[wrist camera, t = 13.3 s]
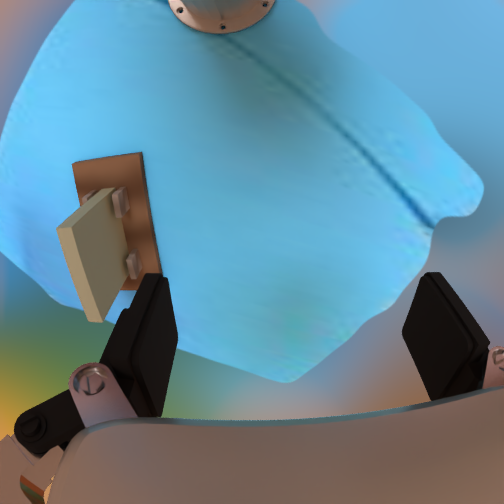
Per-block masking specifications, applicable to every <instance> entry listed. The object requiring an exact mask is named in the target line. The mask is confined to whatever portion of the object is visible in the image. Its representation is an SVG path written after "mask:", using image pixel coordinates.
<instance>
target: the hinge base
mask: <svg viewBox="0 0 504 504" xmlns="http://www.w3.org/2000/svg"><path fill="white" fill-rule="evenodd" d="M72 168H73V173H74V179H75V184H76V188H77V193H78V198H79V202H80V207H81V206H82V205H83V204H84V203H86V202H87V201H88V200H89V199H90V198H92V197H93V196H94V195H95V194H97V193H98V192H99V191H100V190H101V189H106V188H115V189H116V191H115V192H114V193H113V194H112V200H113V205H114V210H115V214H116V218H120V217H121V219H122V224H123V229H124V233H125V238H126V242H127V247H128V251H129V256H128V258H127V259H126V262H127V266H128V270H129V275H128V276H127V278H126V280H125V282H124V284H123V285H122V287H121V289H120V290H138V288H139V285H140V283H141V281H142V279H143V277H144V275H145V273H161V274H162V269H161V264H160V259H159V254H158V249H157V244H156V238H155V233H154V228H153V222H152V216H151V210H150V204H149V198H148V191H147V185H146V178H145V171H144V164H143V156H142V152H138V153H130V154H122V155H115V156H109V157H102V158H96V159H90V160H84V161H78V162H75V163H73V164H72ZM162 275H163V274H162Z"/></svg>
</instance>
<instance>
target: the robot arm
mask: <svg viewBox="0 0 504 504" xmlns="http://www.w3.org/2000/svg"><path fill="white" fill-rule="evenodd" d="M274 2H275V0H168V3H169V5H170V8H171V10H172V11H173V13H174V14H175V16H176V17H177V18H178V19H179V20H180V21H182V22H183V23H184V24H186V25H187V26H189V27H191V28H193V29H195V30H197V31H201V32H204V33H210V34H228V33H234V32H238V31H241V30H244V29H247V28H249V27H250V26H252V25H254V24H256V23H257V22H259V21H260V20H261V19H262V18H264V17H265V15H266V14H267V13H268V12H269V11H270V9H271V8H272V6H273V4H274ZM263 4H266V5H267V7H264V6H263ZM181 10H183V13H180V11H181ZM222 26H225V27H226V28H225V29H224V30H223V29H221V27H222ZM402 336H403V339H404V341H405V343H406V345H407V347H408V349H409V352H410V354H411V356H412V358H413V360H414V362H415V365H416V367H417V369H418V372H419V374H420V376H421V379H422V381H423V383H424V385H425V388H426V390H427V392H428V395H429V397H430V400H431V401H429V402H425V403H420V404H415V405H409V406H404V407H398V408H392V409H387V410H380V411H374V412H367V413H358V414H350V415H341V416H331V417H319V418H306V419H289V420H252V421H251V420H240V421H239V420H201V419H182V418H158V417H161V416H162V412H163V407H164V402H165V397H166V393H167V388H168V383H169V378H170V373H171V369H172V365H173V360H174V356H175V351H176V347H177V342H178V332H177V327H176V322H175V316H174V311H173V305H172V300H171V294H170V288H169V282H168V278H167V277H163V275H162V274H161V273H145V275H144V277H143V279H142V281H141V283H140V285H139V288H138V290H137V292H136V294H135V296H134V299H133V301H132V303H131V305H130V307H129V309H126V308H125V309H123V310H122V312H121V314H120V316H119V318H118V320H117V322H116V325H115V327H114V329H113V332H112V334H111V336H110V338H109V340H108V343H107V345H106V347H105V350H104V352H103V354H102V357H101V359H100V362H99V363H96V362H95V363H87V364H83V365H81V366H80V367H78V368H77V369H76V370H75V371H74V372H73V373H72V374H71V376H70V378H69V383H68V385H69V389H68V390H66V391H64V392H62V393H60V394H58V395H56V396H54V397H53V398H51V399H49V400H47V401H45V402H43V403H41V404H39V405H37V406H35V407H33V408H31V409H29V410H27V411H25V412H24V413H22V414H21V415H20V416H19V417H18V419H17V421H16V423H15V426H14V434H13V435H12V436H11V437H10V436H9V435H6V437H4V438H3V439H2V440H1V441H0V504H45V502H44V498H43V497H44V491H45V489H46V488H47V487H48V486H49V485H50V484H51V483H52V486H51V489H50V493H49V497H48V501H47V504H504V347H501V346H496V347H493V348H492V349H491V350H490V351H489V349H488V345H489V344H490V341H489V340H488V338H487V336H486V335H485V334H484V332H483V330H482V329H481V327H480V326H479V324H478V323H477V322H476V320H475V319H474V317H473V316H472V314H471V313H470V312H469V310H468V309H467V307H466V306H465V305H464V303H463V302H462V300H461V299H460V298H459V296H458V295H457V294H456V292H455V291H454V290H453V288H452V287H451V286H450V284H449V283H448V282H447V281H446V279H445V278H444V277H443V276H442V274H441V273H440V272H427V273H425V274H424V276H422V277H421V278H420V281H419V284H418V287H417V290H416V293H415V296H414V299H413V302H412V304H411V307H410V310H409V313H408V315H407V318H406V321H405V323H404V326H403V329H402ZM54 475H55V476H54ZM53 476H54V479H53V481H52V480H51V478H52V477H53Z"/></svg>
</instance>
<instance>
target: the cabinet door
mask: <svg viewBox="0 0 504 504" xmlns="http://www.w3.org/2000/svg"><path fill="white" fill-rule="evenodd" d="M115 191H116V189H115V188H106V189H101V190H100V191H99V192H98V193H97V194H95V195H94V196H93V197H92V198H90V199H89V200H88V201H87V202H86V203H84V204H83V205H82V206H81V207H80V208H79V209H77V210H76V211H75V212H74V213H73V214H72V215H71V216H69V217H68V218H67V219H66V220H65V221H64V222H63V223H62V224H60V225H59V226H58V227H57V228H56V230H57V234H58V237H59V240H60V244H61V247H62V250H63V253H64V256H65V260H66V263H67V266H68V268H69V271H70V274H71V277H72V280H73V283H74V285H75V288H76V291H77V294H78V296H79V299H80V301H81V304H82V306H83V309H84V311H85V314H86V316H87V319H88V321H89V322H103V321H104V319H105V317H106V315H107V314H108V312H109V310H110V308H111V306H112V304H113V302H114V300H115V298H116V296H117V295H118V293H119V291H120V289H121V287H122V285H123V284H124V282H125V280H126V278H127V276H128V275H129V270H128V266H127V262H126V259H127V258H128V256H129V251H128V247H127V242H126V238H125V233H124V229H123V224H122V219H121V217H120V218H116V214H115V210H114V205H113V200H112V194H113V193H114V192H115Z"/></svg>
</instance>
